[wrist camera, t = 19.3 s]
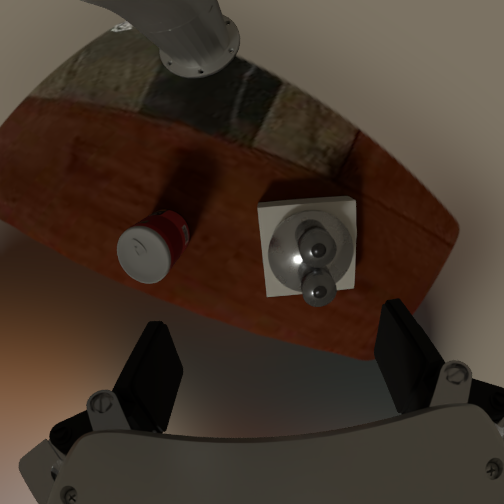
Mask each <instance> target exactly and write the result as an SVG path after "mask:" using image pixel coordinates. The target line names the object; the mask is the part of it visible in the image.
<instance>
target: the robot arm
mask: <svg viewBox="0 0 504 504" xmlns="http://www.w3.org/2000/svg"><path fill="white" fill-rule="evenodd" d="M81 1H84V2H87V3H91V4H94V5H97V6H100V7H103V8H106V9H108V10H110V11H112V12H114V13H116V14H118V15H119V16H121V17H122V18H124V19H125V20H126V21H128V22H129V23H130V24H131V25H133V26H134V27H135V28H136V29H137V30H139V31H140V32H141V33H142V34H143V35H145V36H146V37H147V38H148V39H149V40H151V41H152V42H153V43H154V44H155V45H156V46H158V47H159V48H160V50H159V52H160V58H161V60H162V62H163V64H164V65H165V66H166V68H167V69H169V70H170V71H171V72H173V73H174V74H176V75H178V76H181V77H186V78H201V77H206V76H209V75H212V74H214V73H217V72H219V71H220V70H222V69H223V68H225V67H226V66H227V65H228V64H229V63H230V62H231V61H232V60H233V59H234V57H235V56H236V54H237V52H238V50H239V46H240V35H239V31H238V29H237V26H236V25H235V24H234V22H233V21H232V20H230V19H229V18H228V17H226V16H224V15H222V13H221V10H220V7H219V4H218V1H217V0H81ZM227 24H229V25H227ZM231 51H233V53H230V52H231ZM171 63H172V64H171ZM170 64H171V65H170ZM201 72H203V73H202V74H201ZM374 356H375V359H376V361H377V363H378V365H379V368H380V370H381V372H382V375H383V377H384V379H385V382H386V384H387V387H388V389H389V392H390V394H391V397H392V399H393V401H394V404H395V407H396V409H397V412H398V413H402V415H399V416H395V417H392V418H388V419H384V420H380V421H375V422H371V423H367V424H362V425H358V426H353V427H348V428H342V429H337V430H331V431H324V432H317V433H309V434H301V435H291V436H279V437H259V438H213V437H194V436H183V435H171V434H162V433H163V432H165V431H166V429H167V426H168V423H169V419H170V416H171V412H172V409H173V405H174V402H175V399H176V395H177V392H178V388H179V385H180V382H181V379H182V375H183V366H182V364H181V361H180V359H179V356H178V354H177V351H176V348H175V346H174V343H173V340H172V338H171V335H170V332H169V329H168V327H167V325H166V324H163V322H162V321H150V322H148V324H147V326H146V328H145V329H144V331H143V333H142V335H141V337H140V338H139V340H138V342H137V344H136V346H135V347H134V349H133V351H132V353H131V355H130V357H129V359H128V360H127V362H126V364H125V366H124V368H123V370H122V372H121V374H120V376H119V378H118V380H117V382H116V384H115V386H114V388H113V390H112V391H110V390H100V391H97V392H96V393H94V394H93V395H92V396H90V398H89V399H88V401H87V405H86V406H87V410H86V411H83V412H81V413H79V414H77V415H75V416H73V417H71V418H68V419H66V420H64V421H62V422H59V423H58V424H56V425H55V426H54V427H53V428H52V430H51V431H50V436H49V437H50V439H49V440H47V439H45V440H43V441H42V442H41V443H40V444H38V445H37V446H36V447H35V448H33V449H32V450H31V451H30V452H28V453H27V454H26V455H25V456H23V457H22V458H21V459H20V462H19V471H20V472H21V475H22V477H23V478H24V480H25V482H26V484H27V486H28V487H29V489H30V491H31V492H32V494H33V496H34V497H35V499H36V501H37V502H38V503H39V504H504V388H502V387H499V386H496V385H492V384H489V383H485V382H482V381H479V380H476V379H473V378H472V372H471V370H470V368H469V367H468V365H466V364H465V363H463V362H461V361H449V362H447V363H445V362H444V360H443V358H442V357H441V355H440V354H439V352H438V351H437V349H436V348H435V346H434V345H433V343H432V342H431V340H430V339H429V337H428V336H427V334H426V333H425V332H424V330H423V329H422V327H421V326H420V325H419V324H418V323H417V322H416V320H415V319H414V317H413V316H412V315H411V313H410V312H409V311H408V309H407V308H406V307H405V305H404V304H403V303H402V301H401V300H400V299H398V298H397V299H392V300H387V301H386V303H385V304H383V305H382V309H381V316H380V322H379V327H378V333H377V338H376V343H375V348H374Z"/></svg>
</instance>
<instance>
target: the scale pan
mask: <svg viewBox="0 0 504 504" xmlns="http://www.w3.org/2000/svg"><path fill="white" fill-rule="evenodd" d="M309 219H313V220H317V221H319V222H320V223H322V224H323V226H324V227H325V228H326V230H327V231H328V232H329V234H330V235H331V236H332V238H333V239H334V241H335V243H336V246H337V251H336V255H335V257H334V259H333V260H332V261H331V262H330V263H329V264H328V265H326V266H327V268H328V270H329V272H330V274H331V276H332V278H333V280H334V282H335V284H336V283H337V282H338V281H339V280H340V279H341V278H342V277H343V276H344V275H345V273H346V272H347V271H348V269H349V267H350V264H351V262H352V258H353V241H352V238H351V235H350V233H349V231H348V229H347V228H346V226H345V225H344V224H343V223H342V222H341V221H340V220H339V219H338V218H336V217H335V216H333V215H332V214H329V213H327V212H324V211H319V210H306V211H301V212H297V213H295V214H293V215H291V216H289V217H288V218H286V219H285V220H284V221H282V222H281V223H280V224H279V225H278V227H277V228H276V229H275V231H274V233H273V234H272V236H271V239H270V242H269V247H268V260H269V265H270V268H271V270H272V272H273V274H274V275H275V277H276V278H277V279H278V280H279V282H281V283H282V284H283V285H284V286H286V287H288V288H290V289H292V290H295V291H298V292H302V290H301V286H300V282H299V278H298V267H299V265H300V264H301V263H302V262H303V260H302V258H301V255H300V252H299V249H298V246H297V243H296V240H295V231H296V228H297V227H298V225H299V224H300V223H301V222H303V221H305V220H309Z"/></svg>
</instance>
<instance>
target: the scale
mask: <svg viewBox="0 0 504 504" xmlns="http://www.w3.org/2000/svg"><path fill="white" fill-rule="evenodd" d="M306 210H319V211H324V212H327V213H329V214H332V215H333V216H335V217H336V218H338V219H339V220H340V221H341V222H342V223H343V224H344V225H345V226H346V228H347V229H348V231H349V233H350V235H351V238H352V241H353V258H352V262H351V264H350V267H349V269H348V271H347V272H346V273H345V275H344V276H343V277H342V278H341V279H340V280H339V281H338V282H337V283H336V287H337V290H342V289H351V288H354V280H355V258H356V238H357V227H356V200H354V199H352V198H351V197H349V196H335V197H320V198H306V199H293V200H281V201H270V202H260V203H258V217H259V226H260V235H261V245H262V254H263V264H264V273H265V283H266V293H267V297H273V296H284V295H295V294H302V292H298V291H295V290H292V289H290V288H288V287H286V286H284V285H283V284H282V283H281V282H279V280H278V279H277V278H276V277H275V275H274V274H273V272H272V270H271V268H270V265H269V260H268V247H269V242H270V239H271V236H272V234H273V233H274V231H275V229H276V228H277V227H278V225H279V224H280V223H281V222H282V221H284V220H285V219H286V218H288V217H289V216H291V215H293V214H295V213H297V212H301V211H306Z"/></svg>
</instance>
